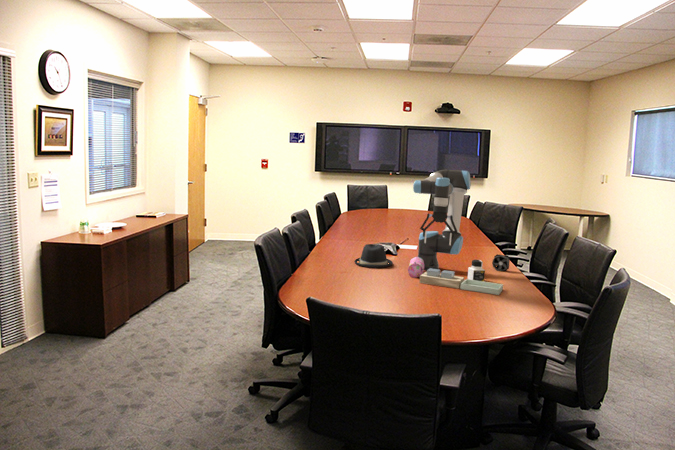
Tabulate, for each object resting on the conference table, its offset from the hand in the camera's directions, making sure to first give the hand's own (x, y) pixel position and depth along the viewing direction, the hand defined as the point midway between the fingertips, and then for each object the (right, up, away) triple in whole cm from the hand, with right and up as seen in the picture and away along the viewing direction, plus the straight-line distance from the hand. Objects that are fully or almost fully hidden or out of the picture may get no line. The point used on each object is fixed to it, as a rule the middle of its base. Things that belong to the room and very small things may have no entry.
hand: (437, 244), depth 284 cm
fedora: (-32, -15, +47) cm, 59 cm away
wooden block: (+3, -22, +3) cm, 22 cm away
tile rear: (-1, -18, +4) cm, 18 cm away
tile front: (+6, -19, +1) cm, 19 cm away
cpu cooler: (+48, -19, +42) cm, 67 cm away
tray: (+23, -24, -7) cm, 34 cm away
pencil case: (-8, -19, +24) cm, 32 cm away
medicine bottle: (+25, -22, +13) cm, 36 cm away
